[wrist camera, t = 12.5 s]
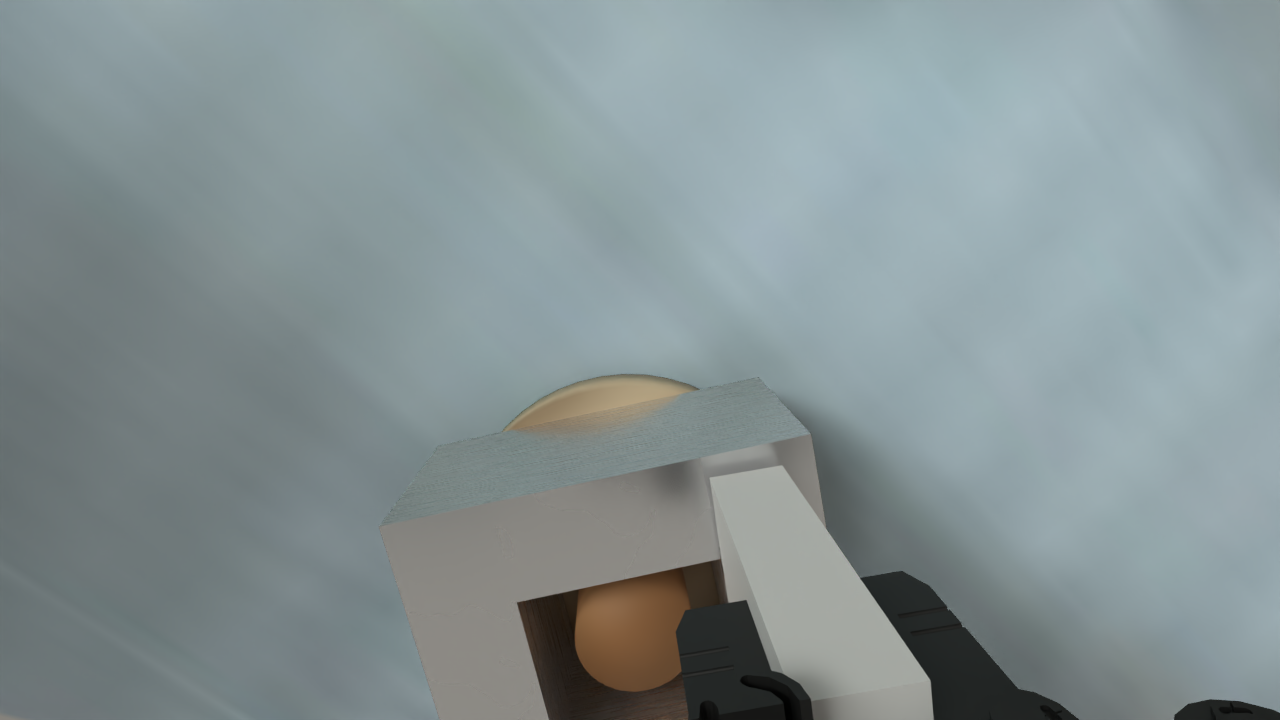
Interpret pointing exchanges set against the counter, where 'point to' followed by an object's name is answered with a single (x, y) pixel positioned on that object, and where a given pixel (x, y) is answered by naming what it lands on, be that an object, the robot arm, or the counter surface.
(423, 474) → the white boxy piece
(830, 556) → the robot arm
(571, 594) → the hub
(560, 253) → the counter surface
